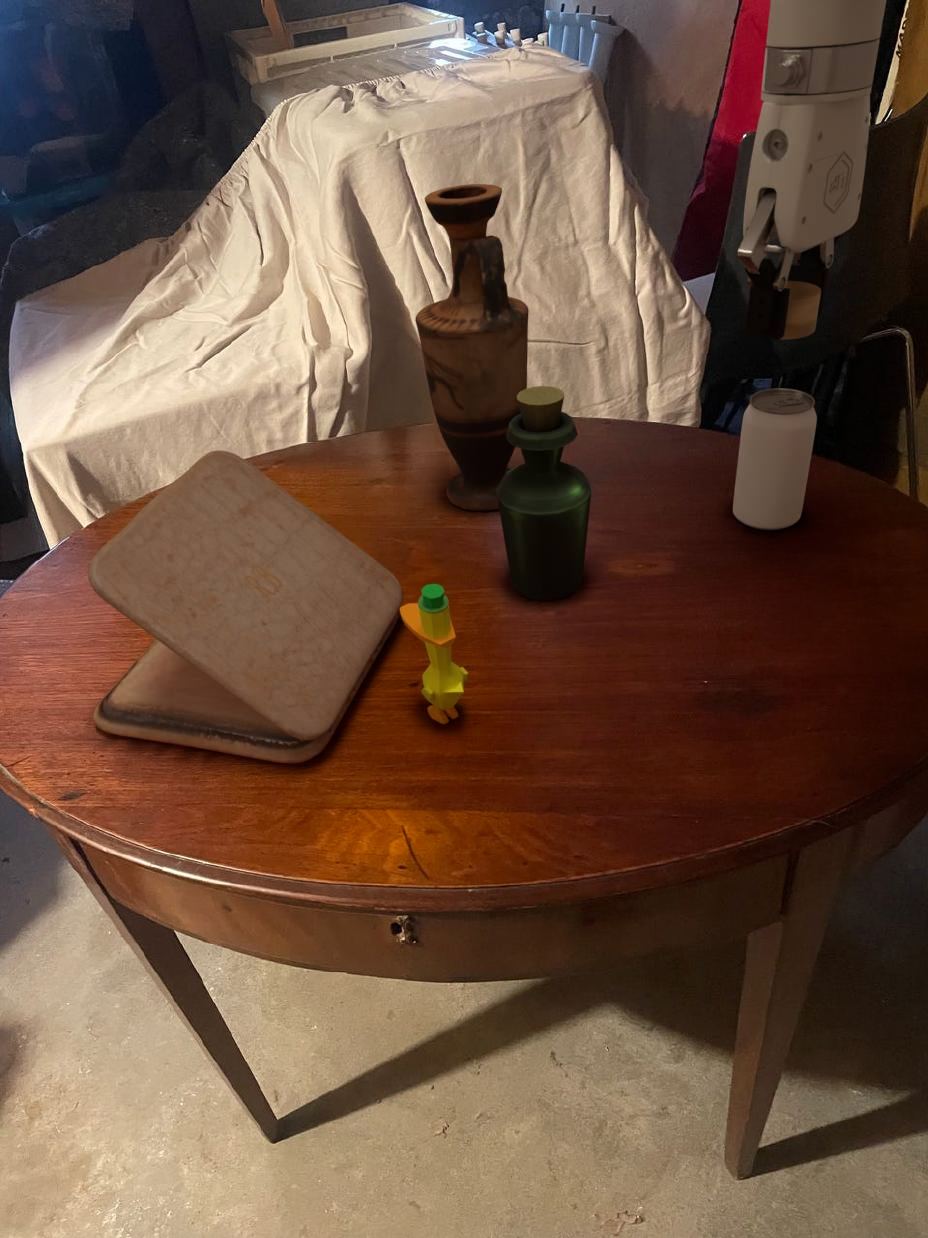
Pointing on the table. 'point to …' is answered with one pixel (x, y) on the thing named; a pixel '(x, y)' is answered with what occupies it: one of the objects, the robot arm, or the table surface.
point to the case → (240, 616)
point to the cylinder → (801, 309)
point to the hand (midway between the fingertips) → (783, 323)
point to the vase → (474, 347)
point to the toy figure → (436, 651)
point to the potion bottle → (544, 500)
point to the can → (774, 458)
